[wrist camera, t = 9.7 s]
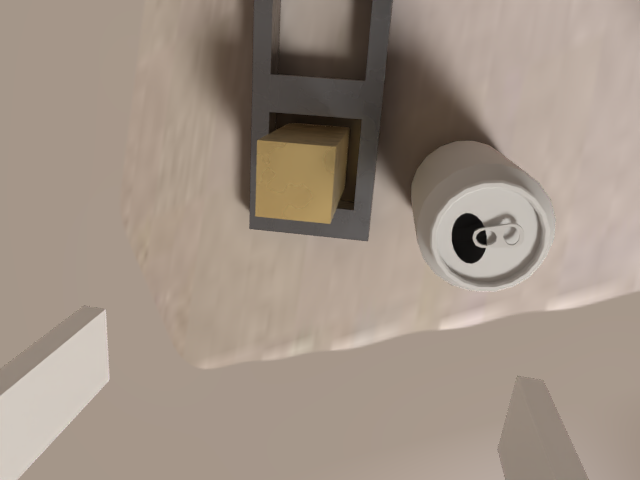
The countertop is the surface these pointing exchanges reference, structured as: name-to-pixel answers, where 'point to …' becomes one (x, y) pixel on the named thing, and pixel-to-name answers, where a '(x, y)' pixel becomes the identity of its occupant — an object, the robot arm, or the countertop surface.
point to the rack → (320, 100)
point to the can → (480, 217)
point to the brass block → (301, 172)
